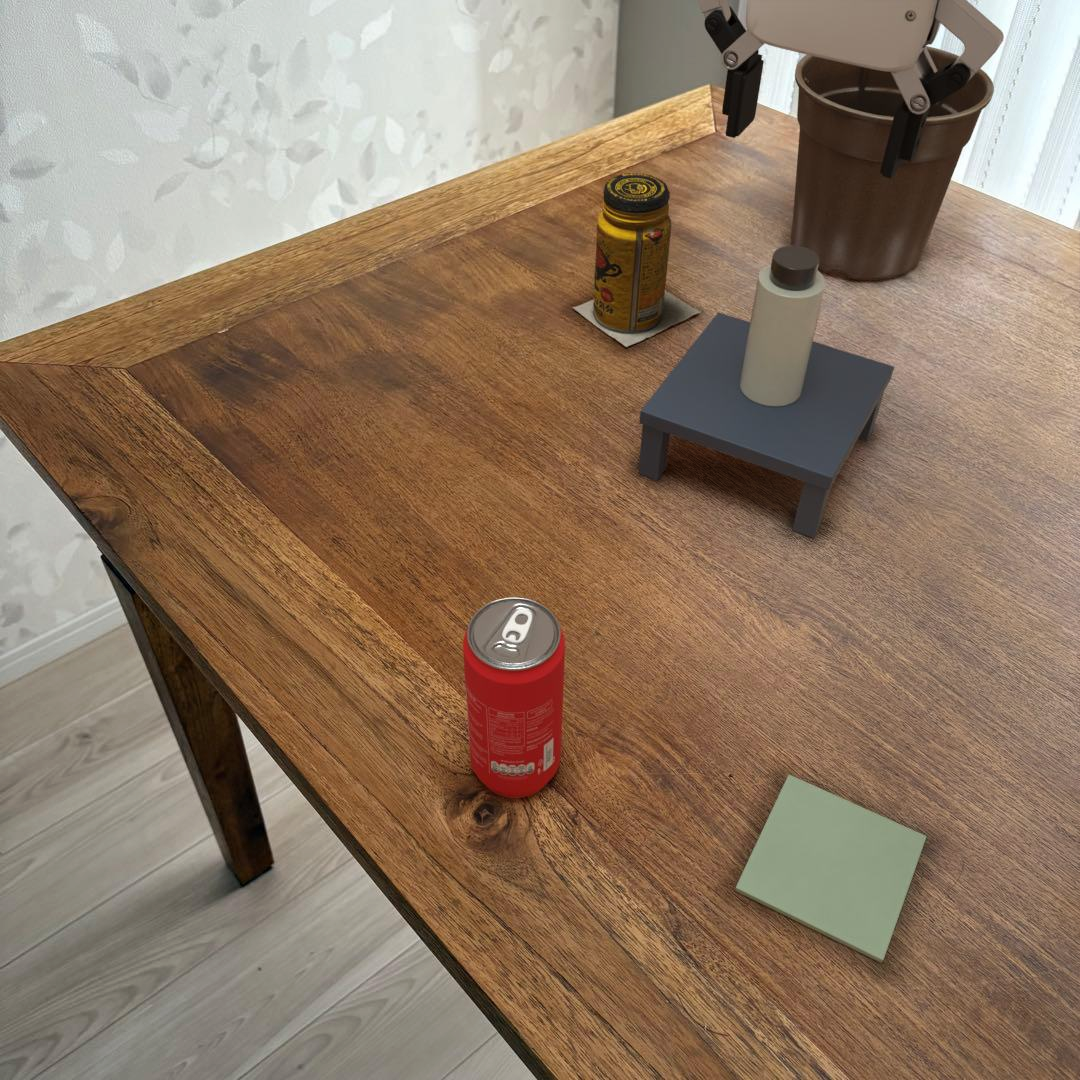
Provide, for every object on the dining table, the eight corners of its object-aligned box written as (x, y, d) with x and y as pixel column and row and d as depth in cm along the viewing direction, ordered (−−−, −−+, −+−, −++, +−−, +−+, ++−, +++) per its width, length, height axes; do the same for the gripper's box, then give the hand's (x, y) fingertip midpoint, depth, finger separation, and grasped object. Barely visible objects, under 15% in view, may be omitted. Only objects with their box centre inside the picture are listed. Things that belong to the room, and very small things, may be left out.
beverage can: (456, 788, 63) (445, 655, 55) (490, 717, 66) (485, 582, 58) (542, 816, 62) (544, 685, 53) (572, 743, 65) (579, 609, 57)
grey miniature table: (876, 429, 86) (894, 366, 81) (815, 541, 77) (832, 477, 73) (708, 374, 90) (718, 311, 86) (633, 474, 82) (640, 410, 78)
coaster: (925, 839, 61) (927, 835, 61) (881, 963, 56) (883, 960, 56) (787, 777, 64) (788, 773, 63) (734, 890, 59) (735, 887, 59)
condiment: (572, 309, 97) (576, 181, 88) (645, 278, 100) (656, 152, 92) (625, 349, 93) (636, 219, 84) (700, 315, 96) (717, 187, 88)
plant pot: (732, 227, 107) (757, 58, 95) (864, 189, 112) (902, 25, 101) (840, 313, 97) (882, 135, 85) (979, 267, 102) (1036, 94, 91)
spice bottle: (810, 380, 80) (839, 250, 73) (788, 414, 77) (817, 282, 70) (753, 362, 82) (776, 233, 74) (730, 394, 79) (751, 263, 71)
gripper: (1077, -174, 54) (973, 157, 66) (745, -222, 60) (706, 92, 72) (1045, -135, 49) (939, 213, 62) (689, -191, 55) (657, 138, 67)
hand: (814, 147), depth 67 cm, fingers open, 9 cm apart
